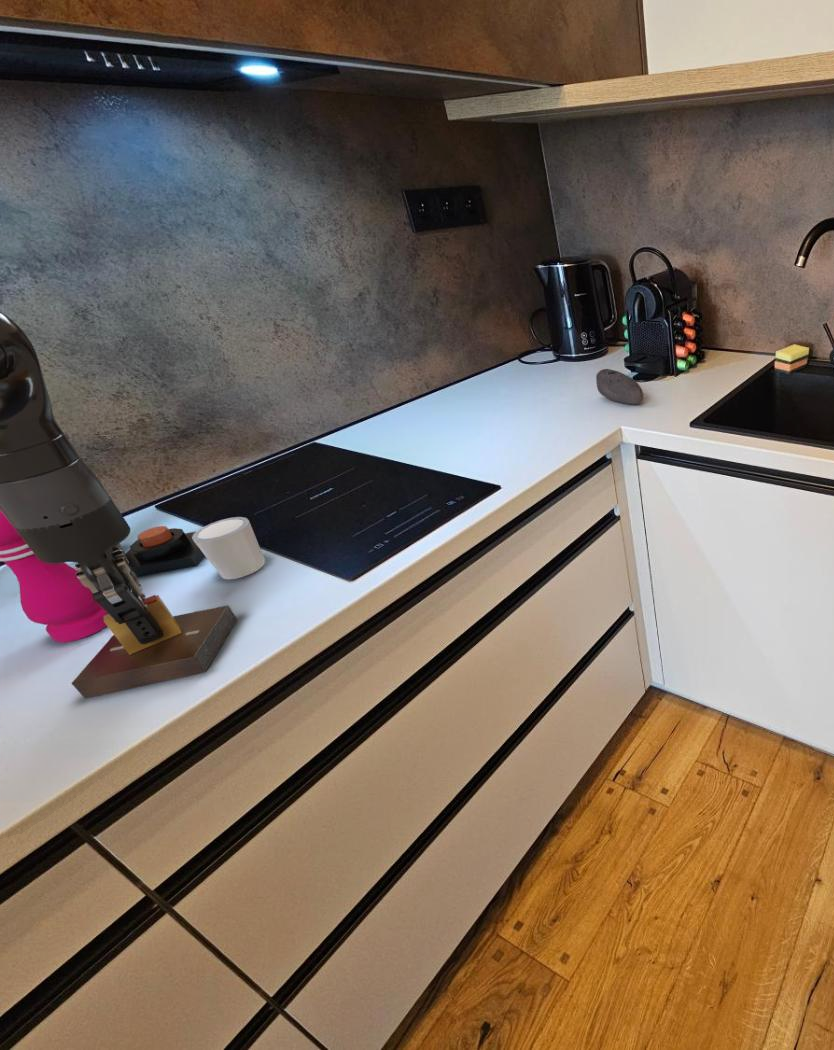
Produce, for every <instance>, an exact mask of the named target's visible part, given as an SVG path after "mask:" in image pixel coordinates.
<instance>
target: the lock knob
mask: <svg viewBox="0 0 834 1050" xmlns="http://www.w3.org/2000/svg"><path fill="white" fill-rule="evenodd" d="M143 602H144V603H145V605H146V604H147V605H148V607H149V608H148V610H149V612H150V613H151V615H152V616H153V618H154V619H155V620H156V622H157V623H158V625H159V626H160V628H161V629H162V631H163V634H164V635H163V637H162V638H160V639H157V640H155V641H152V642H150V643H147V644H141V643H139V641H138V640H137V639H136V637H135V636H134V634H133V633H132V632H131V630H130V629H129V628H128V626H127V625H126V624H125V623H123V624H119V623H118V622H116V621H115V620H114V619H113V618H112V617H111V616H110V615H109V614H107V615H105V616H104V622H105V624H106V625H107V626H106V627H107V628H108V629H109V630H110V631H111V633H112V634H113V635H115V637H116V638H117V639H118V640H119V642H120V643H121V644H122V646H123V647H124V648H125V650H126V651H127V652H128V653H129V655H130V654H133V653H135V652H138V651H140V650H142V649H145V648H147V647H149V646H152V645H154V644H157V643H159V642H161V641H164V640H166V639H169V638H171V637H173V636H176V635H178V634H180V633H182V631H181V628H180V626H179V625H178V623H177V622H176V620H175V619H174V617H173V616H174V615H173V614H172V613H171V612H170V610H169V609H168V607H167V605H166V604H165V603H164V601H163V600H162V598H161V597H160V596H159V594H157V595H156V594H153V595H151V596H147V597H145V600H144V601H143Z"/></svg>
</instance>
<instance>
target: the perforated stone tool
mask: <svg viewBox="0 0 834 1050" xmlns="http://www.w3.org/2000/svg"><path fill="white" fill-rule="evenodd" d="M595 378H596V379H595V380H596V381H595V382H596V388H597V389H596V390H597V391H598V392H599V394H600V395H601V396H603V397H604V398H606V399H608V400H609V401H613V402H617V403H619V404H620V403H621V404H626V405H632V406H636V405H637V406H638V405H640V404H642V402H643V400H644V392H643V389H642V387H641V386H640V385H639V383H638V382H637V381H636V380H635V379H633V378H632V377H630V376H628V375H627V374H625V373H624V372H620V371H619V370H613V369H610V368H604V369H601V370H599V371H598V372H597V373H596V376H595Z"/></svg>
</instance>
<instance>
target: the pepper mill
mask: <svg viewBox="0 0 834 1050" xmlns="http://www.w3.org/2000/svg"><path fill="white" fill-rule="evenodd" d="M0 562H3V563H4V564H6V566H7V567H8V568H9V569H10V570H11V571H12V573H13V574H14V576H15V577H16V579H17V581H18V586H19V599H20V600H19V601H20V606H21V609H22V611H23V613H24V614H25V616H26V617H27V619H28V620H29V621H31V622H32V623H35V624H40V625H45V626H46V627H45V632H46V633H47V634H48V635H49V637H51V639H52V640H53V641H54V642H56V643H70V642H71V643H72V642H75V641H78V640H81V639H84V638H87V637H89V636H92V635H93V634H96V633H98V632H100V631H101V630H103V629H105V628H106V627H108V626H107V625H106V624H105V622H104V616H105V615H107V614H108V613H107V612H106V611H105V610H104V609H103V608H102V607H101V606H100V605H99V604H98V603H97V602H95V601H94V600H93V595H92V594H93V593H92V591H91V590H90V589H89V588H87V587H85V586H83V584H82V583H81V582H80V580H79V579H78V577H77V576H76V573H77V572H79V571H78V570H77V568H75V567H73V566H71V565H69V564H68V563H67V562H64V563H59V564H50V563H45V562H42V561H40V560H39V559H38V558H37V557H36V555H35V554H34V553H33V552H32V550H31V549H30V548H29V546H28V545H27V544H26V542H25V541H24V540H23V539H22V537H21V536H20V535H19V534H18V532H17V531H16V530H15V528H14V527H13V526H12V525H11V523H10V522H9V521H8V519H7V518H6V517H5V515H4V514H3V513H2V512H1V510H0Z"/></svg>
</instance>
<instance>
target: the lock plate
mask: <svg viewBox="0 0 834 1050" xmlns="http://www.w3.org/2000/svg"><path fill="white" fill-rule="evenodd" d="M172 616H173V617H174V619H175V620H176V622H177V623H178V625H179V626H180V628H181V631H182V633H180V634H178V635H176V636H173V637H171V638H169V639H166V640H164V641H161V642H159V643H157V644H154V645H152V646H149V647H147V648H145V649H142V650H140V651H138V652H135V653H133V654H130V655H129V653H128V652H127V651H126V650H125V648H124V647H123V646H122V644H121V643H120V642H119V640H118V639H117V638H116V637H115V635H114V634H113V635H112V636H111V637H109V638H110V639H108V640H107V642H106V643H105V644H104V645H103V646H102V648H101V649H100V650H99V651H98V652H97V653H96V654H95V655H94V657H93V658H92V659H91V660H89V662H88V663H87V665H85V667H84V668H83V669H82V670H81V672H80V673H79V674H78V675H77V676H76V678H75V679H74V680H73V681H72V682H71V684H72V686H73V687H74V688H75V690H77V692H78V693H79V694H80V695H81V696H82V698H83V699H90V698H95V697H100V696H104V695H108V694H113V693H118V692H122V691H126V690H131V689H134V688H135V689H136V688H141V687H144V686H149V685H153V684H158V683H164V682H167V681H171V680H177V679H181V678H186V677H189V676H194V675H198V674H199V675H200V674H204V673H206V672H207V671H208V669H209V667H210V665H212V663H213V660H214V659H215V657H216V655H217V654H218V652H219V651H220V650H221V648H222V646H223V644H224V642H225V641H226V639H227V638H228V636H229V635H230V632H231V631H232V630H233V628H234V626H235V625H236V623H237V622H238V618H237V617H236V614H235V613H234V612H233V610H232V608H231V606H230V605H228V604H227V605H222V606H217V607H211V608H207V609H202V610H197V611H191V612H187V613H183V614H177V615H172Z"/></svg>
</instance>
